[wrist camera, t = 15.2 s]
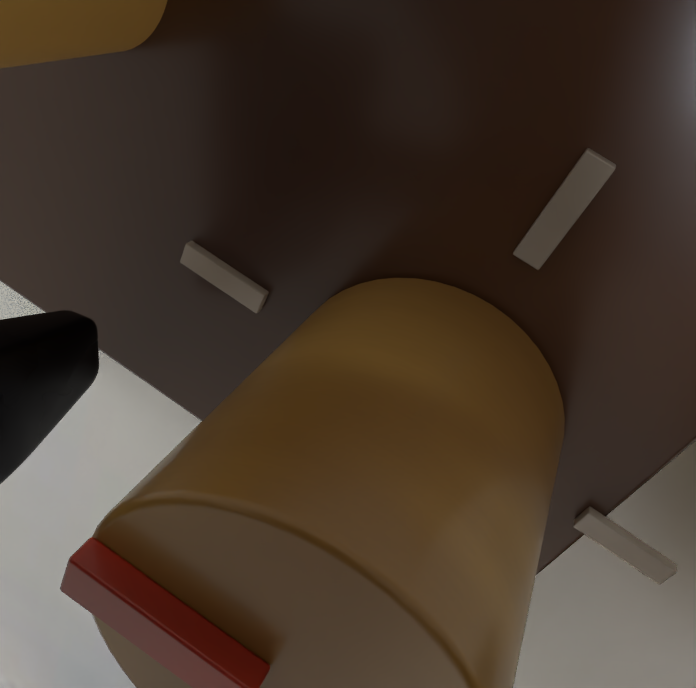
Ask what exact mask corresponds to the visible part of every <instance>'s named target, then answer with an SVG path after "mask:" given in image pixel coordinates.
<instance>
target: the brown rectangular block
mask: <svg viewBox="0 0 696 688" xmlns="http://www.w3.org/2000/svg"><path fill="white" fill-rule="evenodd" d="M387 278H417V279H423V280H429V281H436V282H439V283H443V284H446V285H450V286H453V287H456V288H459V289H461V290H464V291H466V292H468V293H471V294H473V295H475V296H477V297H479V298H481V299H482V300H484V301H486V302H488V303H489V304H491V305H493V306H494V307H496V308H497V309H498V310H500V311H501V312H502V313H504V314H505V315H506V316H508V317H509V318H510V319H511V320H512V321H514V322H515V323H516V324H517V325H518V326H519V327H520V328H521V329H522V330H523V331H524V332H525V333H526V334H527V335H528V337H529V338H530V339H531V340H532V341H533V343H534V344H535V345H536V346H537V347H538V349H539V350H540V352H541V353H542V355H543V357H544V358H545V360H546V361H547V363H548V364H549V366H550V368H551V370H552V373H553V375H554V377H555V379H556V381H557V384H558V387H559V391H560V394H561V398H562V401H563V409H564V416H565V426H564V439H563V444H562V449H561V453H560V458H559V463H558V468H557V473H556V478H555V483H554V488H553V493H552V498H551V503H550V508H549V512H548V517H547V522H546V527H545V532H544V537H543V542H542V547H541V552H540V557H539V562H538V566H537V571H536V575H537V574H538V573H539V572H540V571H542V570H543V569H544V568H545V567H546V566H547V565H549V564H550V563H551V562H552V561H553V560H555V559H556V558H557V557H558V556H559V555H560V554H562V553H563V552H564V551H565V550H566V549H568V548H569V547H570V546H571V545H572V544H574V543H575V542H576V541H577V540H578V539H579V538H581V537H582V536H583V535H584V534H585V535H586V536H588V537H589V538H591V539H592V540H594V541H595V542H597V543H598V544H600V545H601V546H603V547H604V548H606V549H607V550H608V551H610V552H611V553H613V554H614V555H616V556H617V557H619V558H620V559H622V560H623V561H625V562H626V563H628V564H629V565H631V566H632V567H634V568H635V569H637V570H638V571H640V572H641V573H643V574H644V575H646V576H647V577H649V578H650V579H652V580H653V581H655V582H656V583H658V584H661V583H663V582H664V581H665V580H667V579H668V578H670V577H671V576H673V575H674V574H676V573H677V564H676V563H674V562H673V561H671V560H670V559H668V558H667V557H665V556H664V555H662V554H661V553H659V552H658V551H656V550H655V549H653V548H652V547H650V546H649V545H647V544H646V543H644V542H643V541H641V540H640V539H638V538H637V537H635V536H634V535H632V534H631V533H629V532H628V531H626V530H625V529H623V528H622V527H620V526H619V525H617V524H616V523H614V522H613V521H611V520H610V519H608V518H607V517H606V516H607V515H608V514H609V513H610V512H611V511H613V510H614V509H615V508H616V507H617V506H619V505H620V504H621V503H622V502H623V501H624V500H626V499H627V498H628V497H629V496H630V495H632V494H633V493H634V492H635V491H636V490H637V489H639V488H640V487H641V486H642V485H643V484H645V483H646V482H647V481H648V480H649V479H651V478H652V477H653V476H654V475H655V474H656V473H658V472H659V471H660V470H661V469H662V468H664V467H665V466H666V465H667V464H668V463H669V462H671V461H672V460H673V459H674V458H675V457H677V456H678V455H679V454H680V453H681V452H683V451H684V450H685V449H686V448H687V447H688V446H690V445H691V444H692V443H693V442H694V441H696V0H167V4H166V7H165V10H164V13H163V15H162V18H161V20H160V22H159V24H158V25H157V27H156V28H155V30H154V31H153V33H152V34H151V35H150V36H149V37H148V38H147V39H146V40H145V41H144V42H143V43H141V44H140V45H138V46H136V47H135V48H133V49H130V50H127V51H122V52H115V53H108V54H101V55H94V56H87V57H79V58H72V59H65V60H58V61H51V62H44V63H37V64H29V65H22V66H15V67H8V68H1V69H0V281H1V282H3V283H4V284H6V285H7V286H9V287H10V288H11V289H13V290H14V291H16V292H17V293H19V294H20V295H21V296H23V297H24V298H26V299H27V300H29V301H30V302H32V303H33V304H34V305H36V306H37V307H39V308H40V309H42V310H43V311H45V312H46V313H48V312H54V311H60V310H71V311H74V312H77V313H79V314H81V315H84V316H86V317H88V318H90V319H92V320H93V321H94V322H95V324H96V326H97V330H98V349H99V350H101V351H102V352H104V353H105V354H106V355H108V356H109V357H111V358H112V359H114V360H115V361H116V362H118V363H119V364H121V365H122V366H124V367H125V368H127V369H128V370H129V371H131V372H132V373H134V374H135V375H137V376H138V377H139V378H141V379H142V380H144V381H145V382H147V383H148V384H150V385H151V386H152V387H154V388H155V389H157V390H158V391H160V392H161V393H162V394H164V395H165V396H167V397H168V398H170V399H171V400H173V401H174V402H175V403H177V404H178V405H180V406H181V407H183V408H184V409H186V410H187V411H188V412H190V413H191V414H193V415H194V416H196V417H197V418H198V419H200V420H201V421H203V420H204V419H205V418H206V417H207V416H208V415H209V414H210V413H211V412H212V411H213V410H214V409H215V408H216V407H217V406H218V405H219V404H220V403H221V402H222V401H223V400H224V399H225V398H226V397H227V396H228V395H230V394H231V393H232V392H233V391H234V390H235V389H236V388H237V387H238V386H239V385H240V384H241V383H242V382H243V381H244V380H245V379H246V378H247V377H248V376H249V375H250V374H251V373H252V372H253V371H254V370H255V369H256V368H257V367H258V366H259V365H260V364H261V363H262V362H263V361H264V360H265V359H266V358H267V357H268V356H269V355H270V354H272V353H273V352H274V351H275V350H276V349H277V348H278V347H279V346H280V345H281V344H282V343H283V342H284V341H285V340H286V339H287V338H288V337H289V336H290V335H291V334H292V333H293V332H294V331H295V330H296V329H297V328H298V327H299V326H300V325H301V324H302V323H303V322H304V321H305V320H306V319H307V318H308V317H309V316H310V315H311V314H312V313H314V312H315V311H316V310H317V309H318V308H319V307H320V306H321V305H322V304H324V303H325V302H326V301H327V300H328V299H330V298H331V297H333V296H335V295H336V294H338V293H340V292H341V291H343V290H345V289H348V288H350V287H353V286H355V285H358V284H360V283H365V282H369V281H373V280H377V279H387Z"/></svg>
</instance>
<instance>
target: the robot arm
mask: <svg viewBox="0 0 696 688" xmlns="http://www.w3.org/2000/svg"><path fill="white" fill-rule="evenodd" d="M98 369H99V355H98V330H97V326H96V324H95V322H94V321H93V320H92V319H90V318H88V317H86V316H84V315H81V314H79V313H77V312H74V311H71V310H60V311H54V312H48V313H41V314H35V315H28V316H22V317H16V318H9V319H3V320H0V484H1V483H2V482H3V481H4V480H5V479H6V478H7V477H8V476H9V475H11V474H12V473H13V472H14V471H15V470H16V469H17V468H18V467H19V466H20V465H21V464H22V463H23V462H24V461H25V460H26V458H27V457H28V456H29V455H30V454H31V453H32V452H33V451H34V450H35V449H36V448H37V446H38V445H39V444H40V443H41V442H42V441H43V440H44V438H45V437H46V436H47V435H48V434H49V433H50V432H51V430H52V429H53V428H54V427H55V426H56V425H57V424H58V422H59V421H60V420H61V419H62V418H63V417H64V416H65V414H66V413H67V412H68V411H69V410H70V409H71V408H72V406H73V405H74V404H75V403H76V402H77V401H78V400H79V398H80V397H81V396H82V395H83V394H84V393H85V391H86V390H87V389H88V388H89V387H90V386H91V384H92V383H93V382H94V380H95V378H96V376H97V373H98Z"/></svg>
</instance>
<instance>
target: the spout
mask: <svg viewBox="0 0 696 688" xmlns="http://www.w3.org/2000/svg"><path fill="white" fill-rule="evenodd" d="M166 4H167V0H0V69H1V68H8V67H15V66H22V65H29V64H37V63H44V62H51V61H58V60H65V59H72V58H79V57H87V56H94V55H101V54H108V53H115V52H122V51H127V50H130V49H133V48H135V47H136V46H138V45H140V44H141V43H143V42H144V41H145V40H146V39H147V38H148V37H149V36H150V35H151V34H152V33H153V31H154V30H155V28H156V27H157V25H158V24H159V22H160V20H161V18H162V15H163V13H164V10H165V7H166Z"/></svg>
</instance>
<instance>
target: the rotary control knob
mask: <svg viewBox="0 0 696 688" xmlns="http://www.w3.org/2000/svg"><path fill="white" fill-rule="evenodd" d="M564 426H565V416H564V409H563V401H562V398H561V394H560V391H559V387H558V384H557V381H556V379H555V377H554V375H553V373H552V370H551V368H550V366H549V364H548V363H547V361H546V360H545V358H544V357H543V355H542V353H541V352H540V350H539V349H538V347H537V346H536V345H535V344H534V343H533V341H532V340H531V339H530V338H529V337H528V335H527V334H526V333H525V332H524V331H523V330H522V329H521V328H520V327H519V326H518V325H517V324H516V323H515V322H514V321H512V320H511V319H510V318H509V317H508V316H506V315H505V314H504V313H502V312H501V311H500V310H498V309H497V308H496V307H494V306H493V305H491V304H489V303H488V302H486V301H484V300H482V299H481V298H479V297H477V296H475V295H473V294H471V293H468V292H466V291H464V290H461V289H459V288H456V287H453V286H450V285H446V284H443V283H439V282H436V281H429V280H423V279H417V278H387V279H377V280H373V281H369V282H365V283H360V284H358V285H355V286H353V287H350V288H348V289H345V290H343V291H341V292H340V293H338V294H336V295H335V296H333V297H331V298H330V299H328V300H327V301H326V302H325V303H324V304H322V305H321V306H320V307H319V308H318V309H317V310H316V311H315V312H314V313H312V314H311V315H310V316H309V317H308V318H307V319H306V320H305V321H304V322H303V323H302V324H301V325H300V326H299V327H298V328H297V329H296V330H295V331H294V332H293V333H292V334H291V335H290V336H289V337H288V338H287V339H286V340H285V341H284V342H283V343H282V344H281V345H280V346H279V347H278V348H277V349H276V350H275V351H274V352H273V353H272V354H270V355H269V356H268V357H267V358H266V359H265V360H264V361H263V362H262V363H261V364H260V365H259V366H258V367H257V368H256V369H255V370H254V371H253V372H252V373H251V374H250V375H249V376H248V377H247V378H246V379H245V380H244V381H243V382H242V383H241V384H240V385H239V386H238V387H237V388H236V389H235V390H234V391H233V392H232V393H231V394H230V395H228V396H227V397H226V398H225V399H224V400H223V401H222V402H221V403H220V404H219V405H218V406H217V407H216V408H215V409H214V410H213V411H212V412H211V413H210V414H209V415H208V416H207V417H206V418H205V419H204V420H203V421H202V422H201V423H200V424H199V425H198V426H197V427H196V428H195V429H194V430H193V431H192V432H191V433H190V434H189V435H188V436H187V437H185V438H184V439H183V440H182V441H181V442H180V443H179V444H178V445H177V446H176V447H175V448H174V449H173V450H172V451H171V452H170V453H169V454H168V455H167V456H166V457H165V458H164V459H163V460H162V461H161V462H160V463H159V464H158V465H157V466H156V467H155V468H154V469H153V470H152V471H151V472H150V473H149V474H148V475H147V476H146V477H145V478H143V479H142V480H141V481H140V482H139V483H138V484H137V485H136V486H135V487H134V488H133V489H132V490H131V491H130V492H129V493H128V494H127V495H126V496H125V497H124V498H123V499H122V500H121V501H120V502H119V503H118V504H117V505H116V506H115V507H114V508H113V509H112V510H111V511H110V512H109V513H108V514H107V515H106V516H105V517H104V519H103V520H102V521H101V522H100V524H99V525H98V526H97V528H96V530H95V532H94V534H93V537H91V538H90V539H88V540H87V541H86V542H85V543H84V544H83V545H82V546H81V547H80V548H79V549H78V550H77V551H76V552H75V553H74V554H73V555H72V556H71V557H70V558H69V561H68V564H67V567H66V570H65V574H64V577H63V580H62V583H61V587H60V589H61V591H62V592H63V593H65V594H66V595H67V596H69V597H70V598H72V599H73V600H74V601H76V602H77V603H78V604H80V605H81V606H82V607H84V608H85V609H86V610H88V611H89V612H90V613H92V615H93V617H94V620H95V622H96V624H97V627H98V629H99V632H100V634H101V635H102V637H103V639H104V641H105V643H106V645H107V646H108V648H109V650H110V652H111V653H112V655H113V656H114V658H115V659H116V661H117V662H118V664H119V665H120V667H121V668H122V670H123V671H124V672H125V674H126V675H127V676H128V678H129V679H130V680H131V681H132V683H133V684H134V685H135V687H136V688H513V684H514V679H515V675H516V670H517V665H518V660H519V655H520V650H521V645H522V640H523V635H524V630H525V625H526V621H527V616H528V611H529V606H530V601H531V596H532V591H533V586H534V581H535V576H536V571H537V566H538V562H539V557H540V552H541V547H542V542H543V537H544V532H545V527H546V522H547V517H548V512H549V508H550V503H551V498H552V493H553V488H554V483H555V478H556V473H557V468H558V463H559V458H560V453H561V449H562V444H563V439H564Z"/></svg>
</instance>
